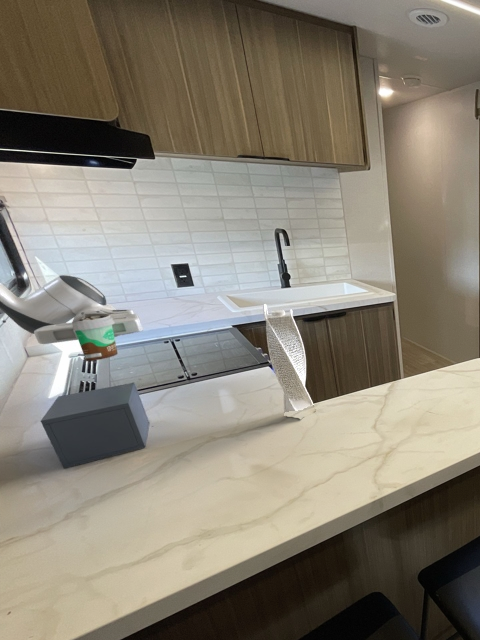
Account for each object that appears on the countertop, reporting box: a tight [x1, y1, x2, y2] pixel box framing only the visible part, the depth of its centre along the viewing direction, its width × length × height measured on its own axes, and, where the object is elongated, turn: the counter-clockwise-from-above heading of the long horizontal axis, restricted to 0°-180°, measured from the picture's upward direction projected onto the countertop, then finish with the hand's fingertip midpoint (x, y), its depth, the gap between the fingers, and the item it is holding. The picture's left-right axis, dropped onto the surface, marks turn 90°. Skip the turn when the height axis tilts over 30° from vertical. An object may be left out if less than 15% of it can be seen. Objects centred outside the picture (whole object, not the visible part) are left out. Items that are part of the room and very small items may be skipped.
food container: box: [71, 313, 118, 362], centre depth 102 cm, size 12×6×10 cm, turn 33°
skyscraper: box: [262, 303, 315, 414], centre depth 97 cm, size 8×8×28 cm
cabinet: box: [40, 382, 150, 469], centre depth 88 cm, size 15×13×11 cm
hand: (87, 335), depth 101 cm, fingers closed on food container
